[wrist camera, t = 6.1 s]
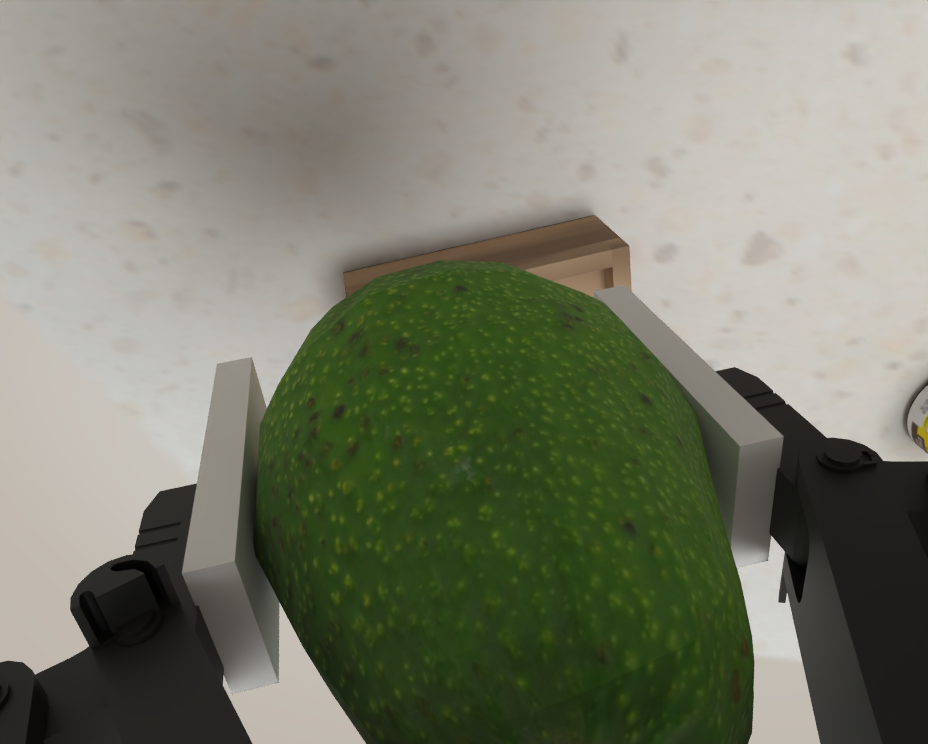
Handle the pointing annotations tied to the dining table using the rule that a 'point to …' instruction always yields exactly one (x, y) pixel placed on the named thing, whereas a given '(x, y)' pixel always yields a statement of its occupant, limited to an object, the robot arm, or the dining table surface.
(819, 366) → the dining table surface
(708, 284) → the dining table surface
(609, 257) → the wooden tray
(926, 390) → the supplement bottle
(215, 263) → the dining table surface
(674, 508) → the avocado
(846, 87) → the dining table surface
